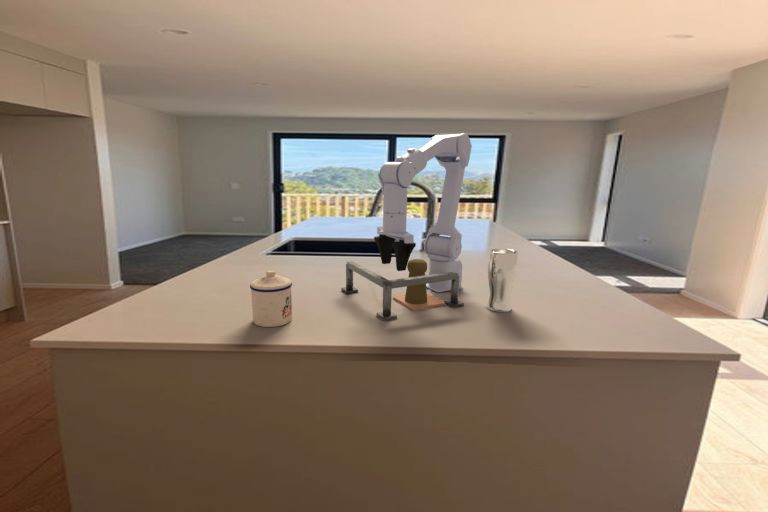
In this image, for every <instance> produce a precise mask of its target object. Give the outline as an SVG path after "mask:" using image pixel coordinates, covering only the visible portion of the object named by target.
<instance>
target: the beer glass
mask: <svg viewBox="0 0 768 512" xmlns="http://www.w3.org/2000/svg"><path fill="white" fill-rule="evenodd" d="M518 254H519V252H518V250H514V249H509V248H492V249H490V250H489V258H488V265H487V279H488V288H489V291H488V292H489V293H488V299H487V303H486V308H487V309H488V310H490V311H493V312H496V313H508V312H511V311H512V300H511V298H512V297H511V296H512V292H513V288H514V286H515V282H516V277H517V273H518Z"/></svg>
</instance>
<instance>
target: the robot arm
mask: <svg viewBox="0 0 768 512" xmlns="http://www.w3.org/2000/svg"><path fill="white" fill-rule="evenodd" d="M406 151H407V152H406V153H405V154H403V155H401V156H400V155H399V156H397V157H396V159H395V160H394V161H387V162H385V163H384V164H383V165H382V166H381V167H380V170H379V173H378V175H377V176H378V181H379V183H380V185H381V192H382V194H383V199H382V200H383V201H382V204H383V207H382V226H377V227H376V228H377V230H376V232H377V233H376V234H377V235H378V236H374V237H373V239H374V241H375V244H376V245H377V248H378V251H379V256H380V259H381V260H380V261H381V264H383V265H389V264H391V261H392V257H393V251H394V257H395V267H396V271H397V272H403V271H406V270H407V265H408V262H409V261H410V260H409V259H410V256H412V255H411V254H412V252H413V251H414V249H415V248H416V247H417V246H416V242H414V237H415V236H414V235H415V234H412V233H410V232H409V231H407V216H408V215H407V212H408V211H407V210H408V187H409V186H411V184H412V183H413V179H414V178H415V177H416V175H418V174H419V173H420V172H422V171H424V170H425V169H426V167H427V165H428V162H429V161H430V160H432V159H433V158H435V160H436V161H437V162H438V164H439V165H440V166H441V167H443V168H444V170H445V176H444V182H443V187H442V193H441V199H440V204H439V209H438V215H437V220H436V224H434V226H432V227H430V228H429V229H428V231H427V236H426V238H425V240H424V242H423V249H424V253H425V254H426V255H427V258H428V259H429V262H428V265H429V267H428V275H432V274H440V273H447V272H456V273H458V275H460V277H459V290H461V289H464V287H463V286H462V278H463V264H462V261H461V260H460V258H459V256H460V255H461V252H462V236H463V235H462V233H461V232H460V231H459V230H458V229H457V227H455V226H456V225H455V224H456V220H457V215H458V214H457V213H458V208H459V203H460V198H461V194H462V193H461V191H462V187H463V182H464V176H465V171H466V167H468V166H469V163H470V162H469V161H470V158H471V153H472V141H471V139H470V137H469V134H467V132H466V133H465V132H463V133H455V134H453V133H452V134H435V135H434V136H432V137H430V140H429V141H428V143H427V142H426V144H425V145H424V146H423V147H421V148H419V149H418V148H415V147H412V148H411V147H410V148H408V149H407V150H406ZM396 240H397V241H396ZM426 289H429V290H432V291H434V292H436V293H443V292H448V291H449V292H450V291H451V280H448V281H441V282H434V283H427V284H426Z"/></svg>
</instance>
